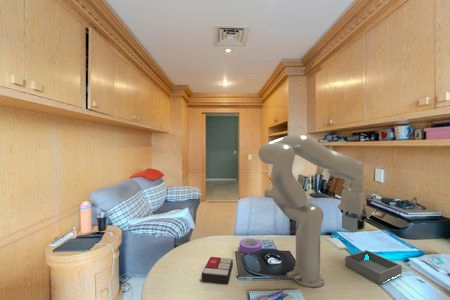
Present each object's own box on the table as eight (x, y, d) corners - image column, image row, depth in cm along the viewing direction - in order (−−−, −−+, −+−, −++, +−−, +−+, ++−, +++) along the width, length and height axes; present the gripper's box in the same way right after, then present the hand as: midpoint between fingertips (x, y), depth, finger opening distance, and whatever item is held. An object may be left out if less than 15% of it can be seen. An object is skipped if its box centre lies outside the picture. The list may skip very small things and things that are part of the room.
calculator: (233, 257, 104) (228, 274, 89) (233, 266, 104) (228, 285, 89) (209, 255, 106) (201, 271, 91) (209, 264, 106) (201, 282, 91)
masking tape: (248, 242, 127) (248, 236, 127) (266, 249, 119) (266, 242, 119) (235, 249, 119) (235, 242, 119) (252, 257, 111) (252, 250, 111)
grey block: (354, 232, 100) (354, 219, 100) (341, 227, 105) (341, 215, 105) (364, 229, 103) (365, 216, 103) (352, 224, 109) (352, 212, 109)
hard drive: (326, 238, 131) (339, 247, 118) (339, 237, 132) (354, 247, 119) (326, 240, 131) (339, 250, 118) (339, 240, 132) (354, 250, 119)
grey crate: (379, 285, 89) (379, 273, 89) (345, 266, 103) (345, 256, 102) (401, 275, 95) (401, 265, 95) (366, 259, 109) (366, 250, 109)
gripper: (331, 185, 110) (331, 222, 110) (368, 192, 94) (367, 234, 95) (341, 184, 113) (341, 219, 114) (378, 190, 98) (377, 231, 98)
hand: (353, 226), depth 104 cm, fingers closed on grey block, 6 cm apart
